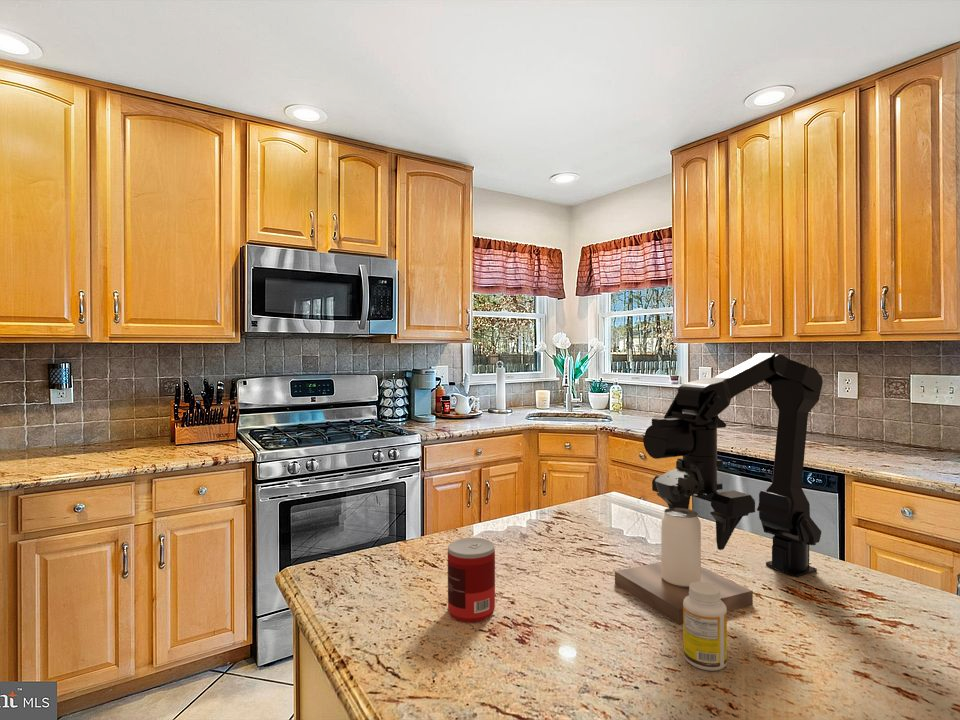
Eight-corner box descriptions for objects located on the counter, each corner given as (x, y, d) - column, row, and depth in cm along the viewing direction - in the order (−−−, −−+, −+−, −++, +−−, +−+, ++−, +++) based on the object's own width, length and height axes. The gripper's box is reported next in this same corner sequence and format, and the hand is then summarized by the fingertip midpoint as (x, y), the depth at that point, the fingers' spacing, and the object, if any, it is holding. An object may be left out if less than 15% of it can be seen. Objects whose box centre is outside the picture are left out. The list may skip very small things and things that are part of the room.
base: (682, 570, 105) (682, 557, 105) (752, 605, 91) (752, 590, 90) (614, 584, 99) (614, 571, 99) (679, 624, 84) (679, 608, 84)
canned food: (500, 604, 91) (500, 540, 91) (485, 627, 84) (485, 557, 84) (458, 598, 94) (458, 535, 94) (440, 619, 86) (440, 551, 86)
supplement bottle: (704, 646, 78) (704, 576, 78) (736, 667, 73) (736, 591, 73) (674, 655, 76) (674, 582, 76) (704, 676, 71) (704, 599, 71)
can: (703, 589, 91) (703, 518, 91) (663, 586, 92) (663, 516, 92) (697, 574, 97) (697, 508, 97) (659, 571, 99) (659, 505, 98)
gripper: (628, 448, 101) (629, 531, 102) (706, 468, 84) (706, 567, 85) (674, 444, 106) (675, 523, 106) (757, 461, 89) (757, 556, 89)
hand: (699, 540), depth 96 cm, fingers open, 9 cm apart
